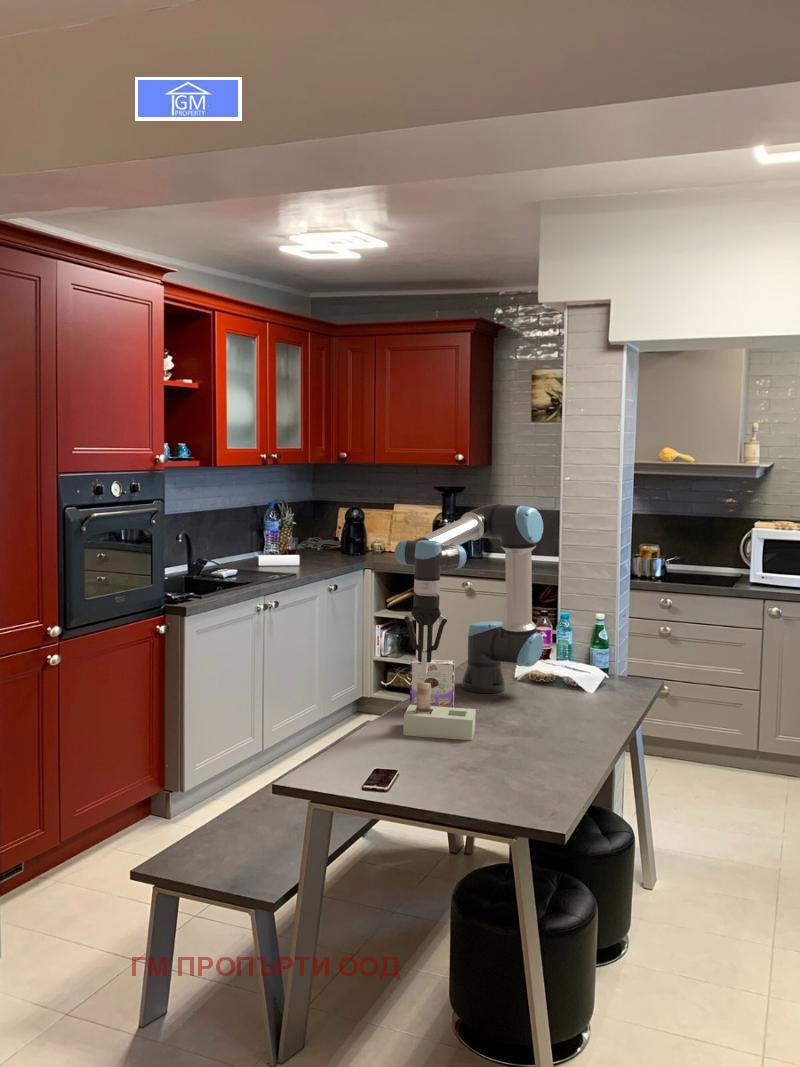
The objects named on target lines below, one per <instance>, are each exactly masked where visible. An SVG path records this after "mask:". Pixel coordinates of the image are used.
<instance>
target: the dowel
mask: <svg viewBox="0 0 800 1067" xmlns="http://www.w3.org/2000/svg"><path fill="white" fill-rule="evenodd" d="M430 701H431V684H429V683H418V684H417V709H416V710H417V713H422V714H430Z"/></svg>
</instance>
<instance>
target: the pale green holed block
mask: <svg viewBox="0 0 800 1067" xmlns="http://www.w3.org/2000/svg"><path fill="white" fill-rule="evenodd" d="M416 709H417V705H410V704H409V705H408V707H407V709H406V710H405V712H404V714H403V731H402V732H403V733H402V734H403V736H408V737H410V736H411V737H423V738H433V739H434V738H437V739H446V740H447V739H450V740H461V741H473V738H474V735H475V734H474V733H475V730H476V716H477V715H476V714H477V712H476V711H477V709H476V708H465V707H464V708H463V707H461V708H460V707H454V708H451V707H437V706H430V714H422V713H417V710H416Z"/></svg>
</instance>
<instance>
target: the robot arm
mask: <svg viewBox="0 0 800 1067" xmlns="http://www.w3.org/2000/svg"><path fill="white" fill-rule="evenodd" d="M543 533H544V522H543V518H542V515H541V513H540V512H539V511H538V509H536V508H535V507H531V506H527V505H526V506H525V505H518V504H517V505H516V504H500V503H491V504H486V505H483V506H480V507H477V508H475V509H473V510H470V511H468V512H465V513H464V514H462V515H461V517H460V519H458V520H455V521H453V522H450V523H449V524H447V525H445V526H443V527H439V528H438V529H436V530H434V531H432V532H429V533H427V534H425V535H423V536H421V537H418V538H416V539H414V540H409V539H405V540H403V539H402V540H400V541H398V543H397V544H396V546H395V549H394V557H395V560H396V561H397V563H399V564H401V565H406V566H409V567H410V566H412V567H414V578H413V580H414V582H413V585H414V586H413V592H414V594H413V607H412V610H411V613H410V614H408V615H405V616H404V618H403V620H404V622H405V623H406V624H407V629H408V633H409V638H410V639H409V640H410V643H411V648H412V649H413V650H416V651H417V652H418V653H417V659H418V662H422V664H421V674H427V670H428V663H430V662H431V659H433V658H432V652H434V651H437V650H438V648H439V644H440V641H441V638H442V634H443V631H444V629H445V628H444V627H445V626H446V624H447V622H448V621H449V619H448V617H445V616H444V615H442V612H441V610H440V595H439V594H440V593H441V590H440V589H441V572H448V571H455V570H458V569H461V568H462V567H464V566H465V564H466V562H467V552H466V549H465V548H464V547H463V546H462V544H465V543H467V542H469V541H477V540H480V539H496V540H500V548H501V549H502V550H503V551H504V552H505V553H504V554H505V558H504V559H505V560H504V562H505V564H504V565H505V621H504V623H503V622H502V621H497V620H487V621H486V620H485V621H479V622H478V621H477V622H473V623H471V624H470V625H469V627H468V633H467V637H468V638H467V664H466V667H465V668H466V669H465V670H464V674H463V676H462V680H461V688H462V689H463V690H465V691H467V692H473V693H478V694H495V693H496V694H497V693H501V692H504V691H505V690H506V679H505V676H504V673H503V669H502V663H505V664H510V665H514V666H518V667H527V668H531V667H533V666H535V665H536V664H537V663H538V661H539V660H540V658H541V656H542V654H543V650H544V645H545V643H544V642H545V640H544V637H543V635H542V634H540V633H539V632H537V625H536V623H535V622H534V621H533V604H532V603H533V599H532V598H533V597H532V596H533V595H532V594H533V592H532V591H533V586H532V585H533V582H532V580H533V579H532V572H533V570H532V568H533V567H532V565H533V564H532V551H534V549H536V547H537V543H538V542H539V541H541V539H542V536H543ZM438 619H439V620H438ZM413 620H415V621H416V623H417V625H418V638H416V633H415V628H414V624H413ZM437 621H438V623H439V625H438V628H437V633H436V636H435V639H434V640H435V641H434V643H433V627H434V624H435V623H436V622H437ZM425 626H426V628H427V632H426V634H427V635H426V637H427V638H426V650H425V649H424V635H425V632H424V631H425ZM417 640H418V641H417Z"/></svg>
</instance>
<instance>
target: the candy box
mask: <svg viewBox="0 0 800 1067" xmlns="http://www.w3.org/2000/svg"><path fill="white" fill-rule="evenodd" d="M421 664H422V662H418V658H412V659H411V661H410V676H409V677H410V678H409V679H410V681H409V682H410V685H409V686H410V688H409V691H410V692H409V705H417V684H418V683H429V684H431V701H430V706H437V707H451V708H455V707H454V703H455V702H454V701H455V660H454V659H437V658H436V659H433V658H431V662H430V663H428V670H427V674H421Z"/></svg>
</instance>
